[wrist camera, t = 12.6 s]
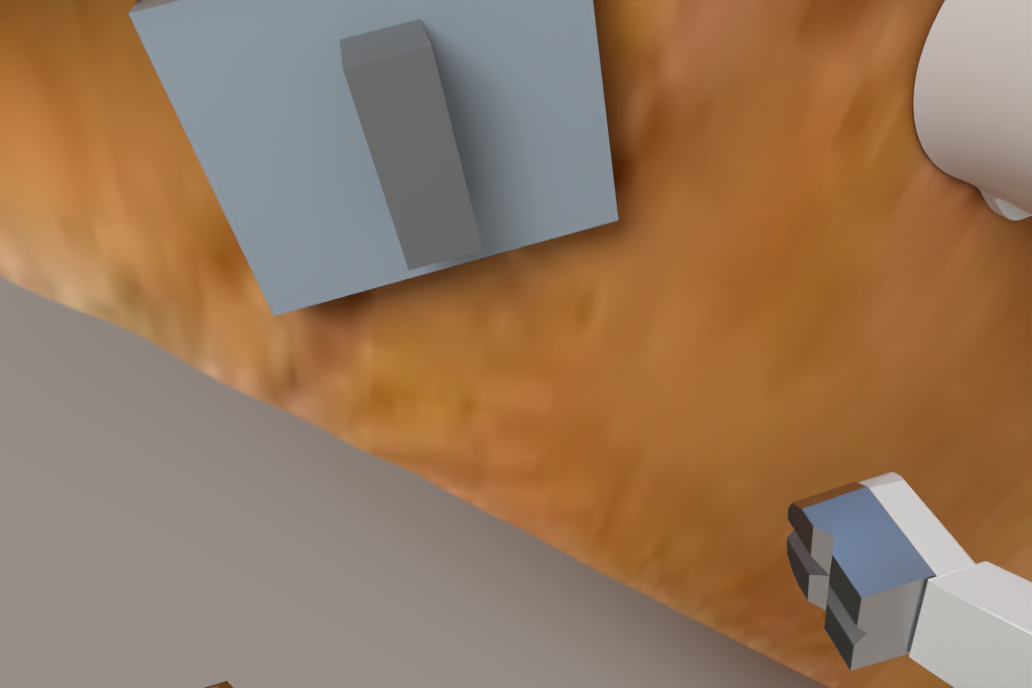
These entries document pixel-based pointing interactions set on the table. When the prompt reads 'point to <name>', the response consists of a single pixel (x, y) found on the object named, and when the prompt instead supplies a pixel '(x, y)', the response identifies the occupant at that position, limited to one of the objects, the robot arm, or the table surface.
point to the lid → (386, 130)
